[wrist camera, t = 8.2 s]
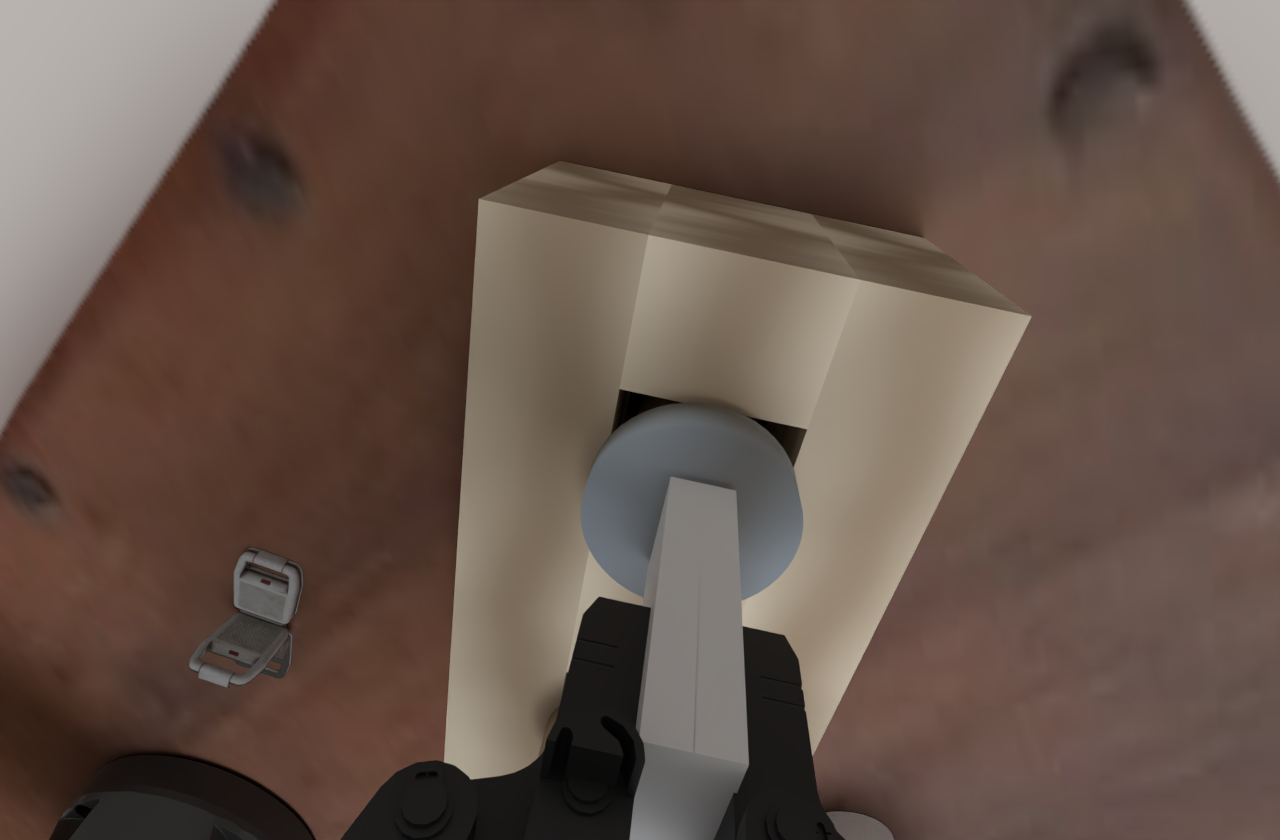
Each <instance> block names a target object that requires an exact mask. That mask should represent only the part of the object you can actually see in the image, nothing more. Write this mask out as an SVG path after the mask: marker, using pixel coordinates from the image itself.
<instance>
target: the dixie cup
mask: <svg viewBox="0 0 1280 840" xmlns="http://www.w3.org/2000/svg"><path fill="white" fill-rule="evenodd" d="M826 814H827V815H828V816H829V818H830V819H831V821H832V822H833V824H834V826H835V829H836V830H837V832H838V833H839V834H840V835H841V836H842V837H843V838H844V839H845V840H894V838H893V835H892V833H891V832H890V830H889V829H888V828H887V827H886V826H885V825H883V824H882V823H881V822H879V821H877V820H876V819H874V818H871V817H869V816H866V815H863V814H859V813H853V812H844V811H835V812H826Z"/></svg>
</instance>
